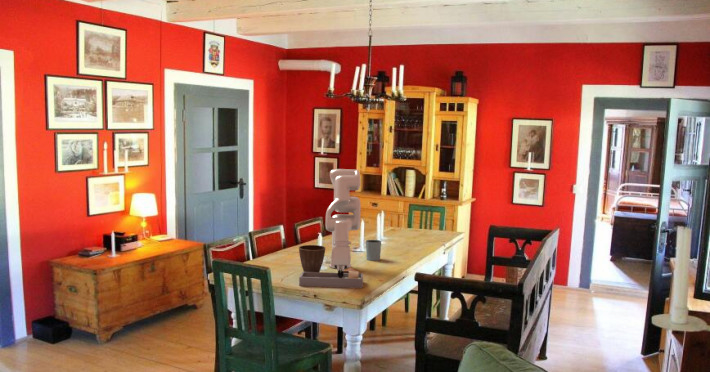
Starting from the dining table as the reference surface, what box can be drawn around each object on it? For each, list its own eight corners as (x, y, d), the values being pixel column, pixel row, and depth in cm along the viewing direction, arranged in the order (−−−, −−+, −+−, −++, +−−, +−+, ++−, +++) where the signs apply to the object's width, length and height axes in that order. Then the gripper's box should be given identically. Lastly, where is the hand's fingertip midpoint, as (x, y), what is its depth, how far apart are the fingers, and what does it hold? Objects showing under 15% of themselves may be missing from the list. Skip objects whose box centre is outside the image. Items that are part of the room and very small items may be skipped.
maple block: (349, 278, 301) (349, 271, 301) (358, 279, 301) (358, 271, 301) (348, 281, 296) (348, 273, 296) (357, 281, 296) (357, 274, 296)
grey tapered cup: (379, 261, 355) (380, 242, 354) (363, 260, 357) (364, 241, 356) (381, 258, 365) (382, 240, 364) (366, 257, 367) (367, 239, 366)
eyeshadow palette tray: (302, 279, 306) (302, 271, 306) (362, 281, 305) (363, 273, 305) (299, 285, 295) (299, 277, 294) (362, 287, 293) (362, 279, 293)
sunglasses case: (352, 280, 307) (346, 269, 308) (342, 285, 309) (336, 274, 310) (362, 273, 324) (356, 262, 325) (352, 278, 326) (346, 267, 327)
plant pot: (305, 271, 326) (306, 243, 324) (329, 274, 320) (329, 246, 319) (293, 277, 312) (294, 248, 311) (318, 280, 307) (318, 251, 305)
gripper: (355, 242, 301) (354, 276, 303) (327, 241, 302) (327, 275, 303) (355, 245, 294) (354, 279, 295) (326, 244, 294) (326, 279, 296)
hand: (340, 277), depth 299 cm, fingers closed
